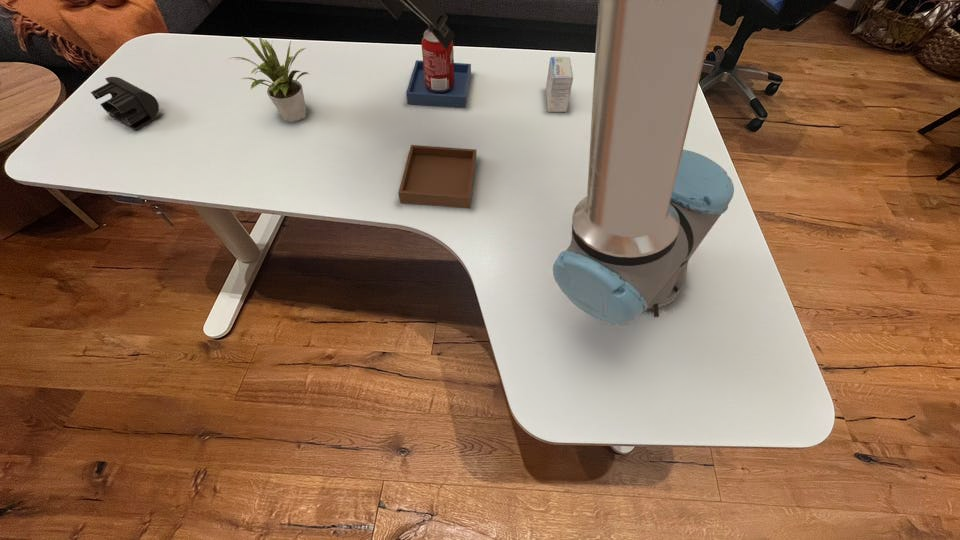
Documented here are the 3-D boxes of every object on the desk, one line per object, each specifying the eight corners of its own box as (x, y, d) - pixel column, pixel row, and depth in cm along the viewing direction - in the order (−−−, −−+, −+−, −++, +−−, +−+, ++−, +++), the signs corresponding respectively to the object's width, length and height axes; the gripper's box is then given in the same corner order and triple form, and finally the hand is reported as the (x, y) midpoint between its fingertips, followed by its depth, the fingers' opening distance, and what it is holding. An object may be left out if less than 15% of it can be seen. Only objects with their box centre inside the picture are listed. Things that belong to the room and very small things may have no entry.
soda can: (450, 96, 99) (448, 44, 89) (421, 92, 100) (416, 40, 90) (457, 79, 103) (456, 27, 93) (429, 75, 103) (425, 24, 94)
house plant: (240, 121, 94) (202, 47, 80) (285, 88, 101) (256, 14, 87) (292, 142, 90) (260, 68, 77) (334, 106, 97) (312, 33, 84)
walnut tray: (470, 208, 81) (470, 198, 79) (400, 203, 82) (398, 192, 79) (476, 160, 89) (476, 149, 86) (412, 155, 89) (410, 144, 87)
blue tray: (465, 108, 98) (465, 97, 96) (407, 104, 98) (406, 93, 96) (470, 74, 105) (471, 63, 103) (417, 71, 106) (415, 60, 104)
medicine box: (566, 112, 98) (574, 77, 91) (546, 112, 98) (552, 76, 91) (563, 91, 102) (570, 56, 95) (544, 91, 102) (550, 55, 95)
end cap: (167, 114, 95) (148, 86, 89) (137, 132, 91) (115, 104, 86) (138, 99, 98) (118, 71, 92) (108, 115, 94) (85, 87, 89)
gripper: (287, -67, 67) (370, 18, 86) (394, -6, 58) (460, 73, 78) (312, -113, 65) (391, -16, 85) (425, -58, 57) (484, 36, 76)
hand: (424, 26), depth 81 cm, fingers open, 13 cm apart
